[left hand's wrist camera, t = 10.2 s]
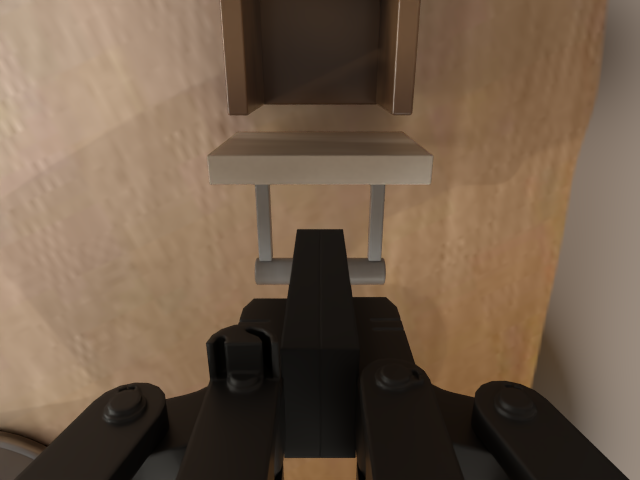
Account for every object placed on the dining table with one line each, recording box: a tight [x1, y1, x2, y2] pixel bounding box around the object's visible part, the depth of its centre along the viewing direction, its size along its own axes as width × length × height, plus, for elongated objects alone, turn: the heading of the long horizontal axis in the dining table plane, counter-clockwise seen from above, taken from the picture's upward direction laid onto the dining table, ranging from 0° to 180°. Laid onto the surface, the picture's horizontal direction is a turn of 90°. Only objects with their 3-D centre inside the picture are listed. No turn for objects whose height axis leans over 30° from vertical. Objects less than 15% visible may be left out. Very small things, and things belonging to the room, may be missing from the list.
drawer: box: [207, 0, 433, 285], centre depth 19 cm, size 22×9×7 cm, turn 0°
